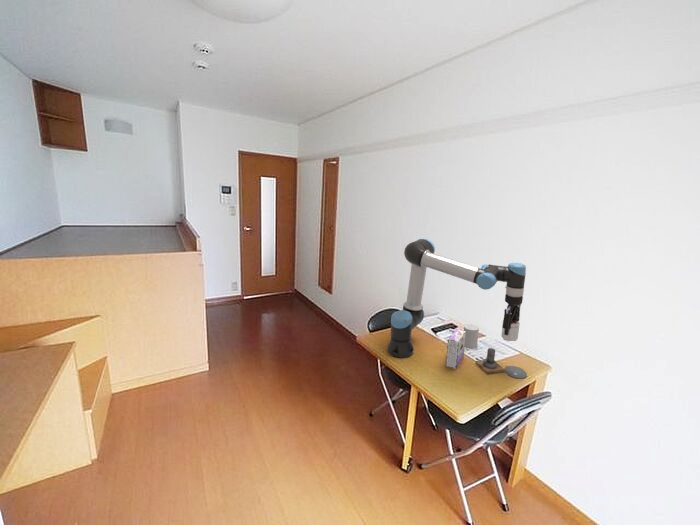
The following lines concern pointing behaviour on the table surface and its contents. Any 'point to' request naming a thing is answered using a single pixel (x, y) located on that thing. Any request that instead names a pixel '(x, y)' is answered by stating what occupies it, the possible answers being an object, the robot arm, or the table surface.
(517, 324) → the grey cylinder
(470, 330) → the cup
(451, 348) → the candy box
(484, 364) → the post stand
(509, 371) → the coaster
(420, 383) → the table surface
